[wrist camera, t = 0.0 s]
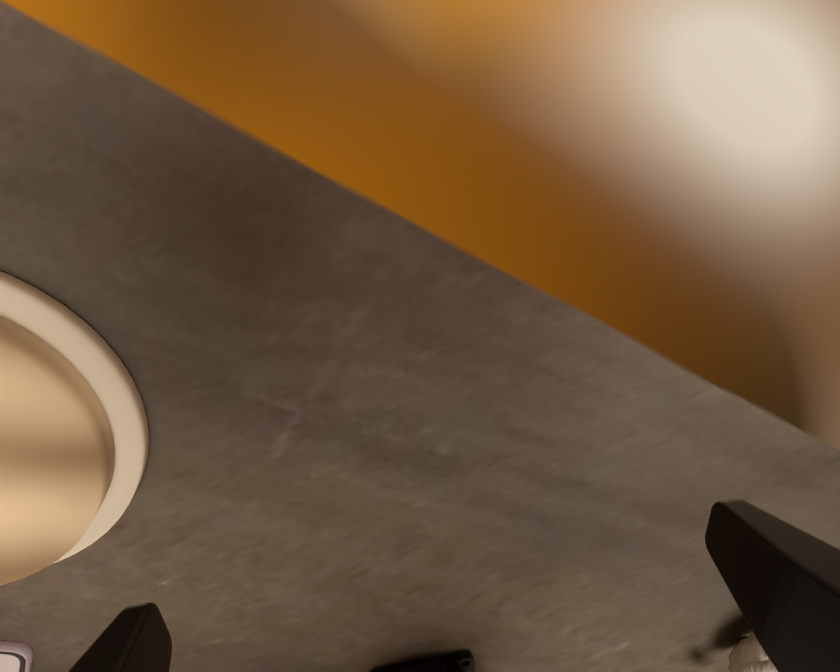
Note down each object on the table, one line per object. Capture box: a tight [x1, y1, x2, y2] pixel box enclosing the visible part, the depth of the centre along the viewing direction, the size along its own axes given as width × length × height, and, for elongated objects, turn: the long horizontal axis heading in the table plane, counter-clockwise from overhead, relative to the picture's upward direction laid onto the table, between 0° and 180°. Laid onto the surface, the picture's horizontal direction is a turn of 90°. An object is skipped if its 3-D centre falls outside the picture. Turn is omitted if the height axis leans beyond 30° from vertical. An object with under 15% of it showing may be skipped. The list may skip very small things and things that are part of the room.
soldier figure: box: [728, 632, 778, 672], centre depth 35 cm, size 8×5×12 cm
